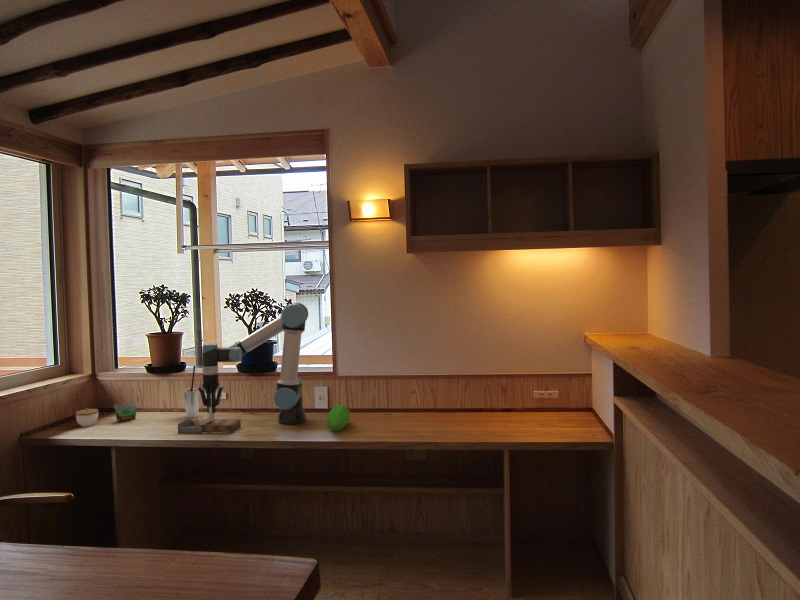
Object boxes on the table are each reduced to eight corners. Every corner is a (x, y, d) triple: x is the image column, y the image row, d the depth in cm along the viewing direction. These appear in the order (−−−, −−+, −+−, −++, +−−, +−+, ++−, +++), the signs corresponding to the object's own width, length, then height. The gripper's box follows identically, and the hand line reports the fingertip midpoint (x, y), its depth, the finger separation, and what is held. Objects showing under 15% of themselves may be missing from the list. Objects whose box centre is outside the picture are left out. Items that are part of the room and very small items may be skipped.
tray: (213, 426, 284) (212, 416, 283) (201, 433, 271) (201, 423, 270) (190, 426, 285) (190, 416, 285) (178, 433, 272) (177, 423, 271)
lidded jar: (86, 428, 283) (85, 411, 283) (71, 427, 287) (70, 409, 286) (103, 423, 294) (102, 406, 293) (88, 422, 297) (88, 405, 297)
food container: (116, 424, 291) (115, 405, 291) (113, 421, 296) (113, 404, 296) (140, 420, 299) (140, 402, 299) (138, 417, 304) (137, 400, 304)
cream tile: (213, 419, 279) (211, 415, 279) (208, 422, 274) (207, 417, 274) (204, 422, 280) (202, 418, 280) (200, 425, 275) (198, 420, 275)
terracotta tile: (202, 416, 280) (197, 418, 280) (197, 419, 275) (193, 420, 275) (205, 425, 280) (201, 427, 280) (201, 428, 275) (196, 429, 275)
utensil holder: (196, 419, 298) (194, 365, 297) (178, 418, 301) (176, 365, 299) (207, 414, 309) (205, 362, 308) (189, 413, 311) (187, 362, 310)
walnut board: (240, 427, 281) (240, 419, 281) (232, 433, 270) (232, 425, 270) (213, 426, 283) (212, 419, 282) (203, 432, 272) (203, 425, 271)
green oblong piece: (346, 399, 288) (339, 410, 258) (355, 418, 288) (348, 432, 258) (327, 407, 288) (317, 420, 258) (335, 426, 288) (327, 441, 258)
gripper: (194, 375, 272) (196, 420, 273) (219, 375, 271) (220, 421, 272) (201, 372, 280) (202, 417, 281) (225, 372, 279) (226, 417, 280)
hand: (211, 419), depth 277 cm, fingers closed
